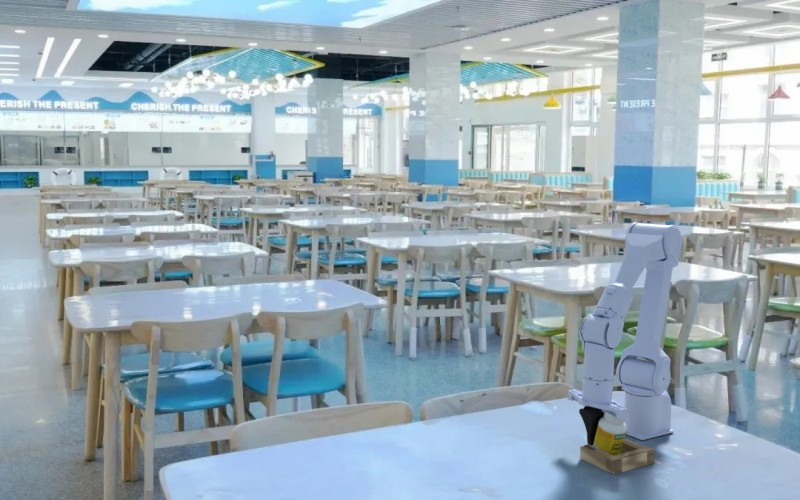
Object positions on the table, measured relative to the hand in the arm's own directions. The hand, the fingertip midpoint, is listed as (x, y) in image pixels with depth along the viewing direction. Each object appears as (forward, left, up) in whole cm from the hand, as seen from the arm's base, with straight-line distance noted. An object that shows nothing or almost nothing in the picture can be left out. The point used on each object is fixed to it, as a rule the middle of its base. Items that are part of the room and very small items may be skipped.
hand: (594, 444), depth 162 cm
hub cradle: (-1, +5, -2) cm, 5 cm away
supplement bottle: (-1, +2, -2) cm, 3 cm away
